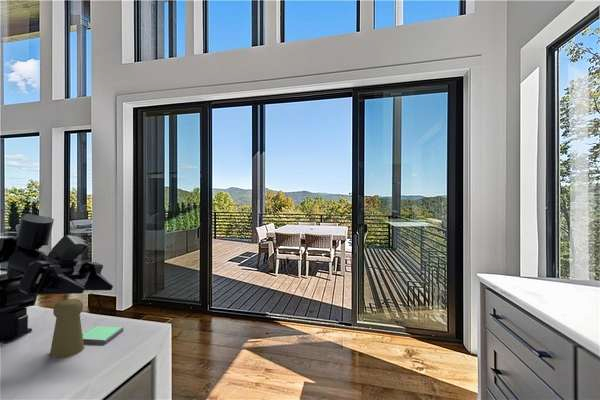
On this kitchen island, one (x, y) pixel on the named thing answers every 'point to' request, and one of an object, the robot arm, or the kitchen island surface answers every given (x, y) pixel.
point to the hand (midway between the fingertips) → (98, 289)
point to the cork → (67, 329)
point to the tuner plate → (101, 334)
